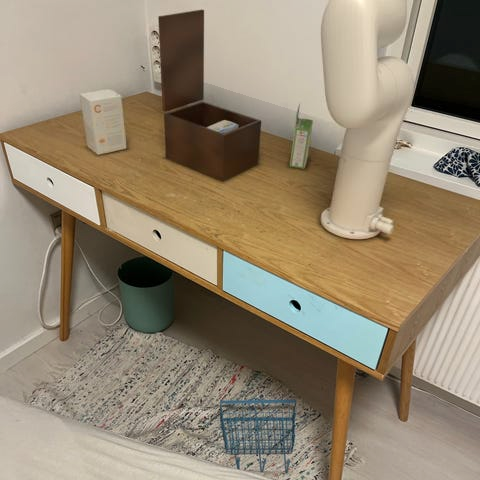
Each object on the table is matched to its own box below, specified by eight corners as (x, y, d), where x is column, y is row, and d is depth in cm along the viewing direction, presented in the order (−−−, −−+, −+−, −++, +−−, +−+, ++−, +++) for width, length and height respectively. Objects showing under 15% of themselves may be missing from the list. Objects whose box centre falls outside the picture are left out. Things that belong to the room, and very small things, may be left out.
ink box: (305, 169, 124) (313, 114, 116) (289, 167, 125) (296, 112, 116) (307, 158, 130) (315, 104, 121) (292, 156, 130) (299, 102, 121)
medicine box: (223, 154, 127) (224, 119, 121) (237, 159, 125) (239, 123, 119) (203, 163, 122) (203, 127, 116) (217, 169, 120) (218, 132, 114)
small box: (115, 140, 132) (110, 88, 123) (127, 149, 128) (122, 95, 120) (86, 146, 128) (78, 92, 119) (97, 155, 124) (90, 100, 116)
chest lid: (204, 9, 113) (201, 9, 114) (160, 16, 105) (158, 16, 105) (203, 99, 126) (201, 98, 126) (164, 112, 118) (162, 111, 118)
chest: (258, 164, 125) (261, 120, 118) (222, 181, 117) (224, 135, 110) (202, 143, 134) (202, 101, 126) (165, 158, 125) (163, 113, 118)
